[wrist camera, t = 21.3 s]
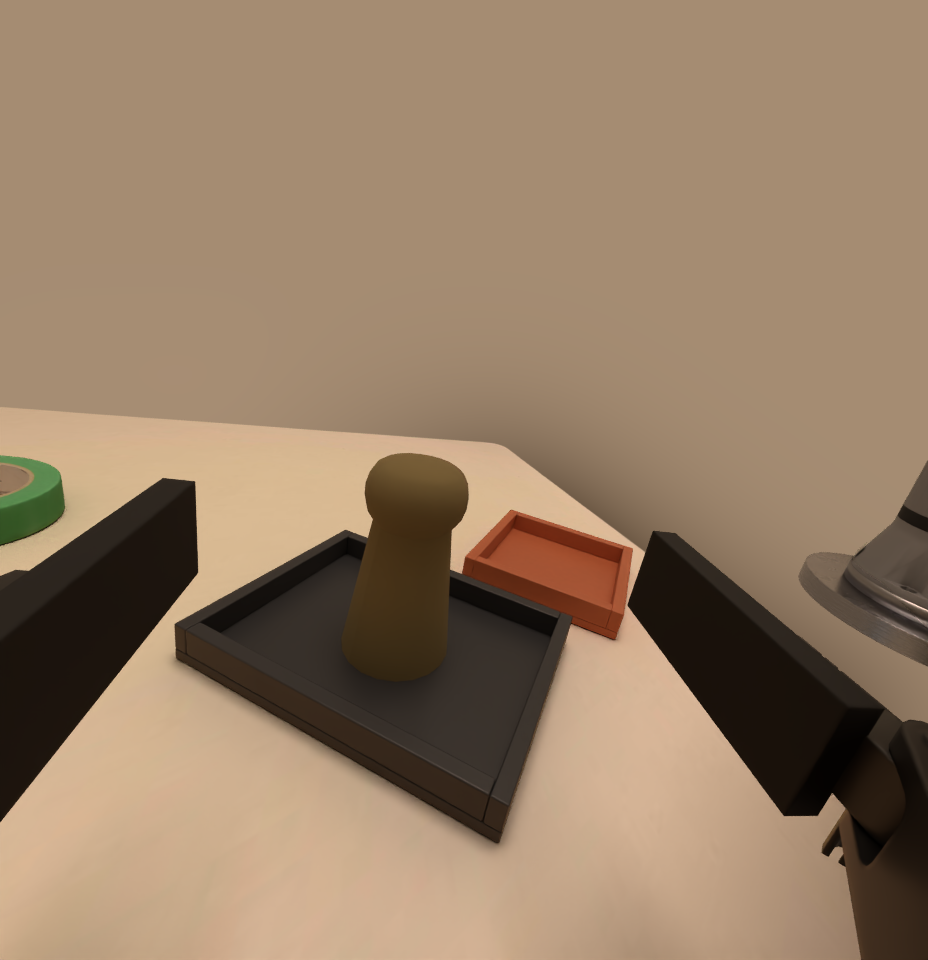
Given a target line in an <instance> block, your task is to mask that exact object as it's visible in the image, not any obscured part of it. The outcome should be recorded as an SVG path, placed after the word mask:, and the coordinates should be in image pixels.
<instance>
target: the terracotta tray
mask: <svg viewBox="0 0 928 960" xmlns="http://www.w3.org/2000/svg"><path fill="white" fill-rule="evenodd" d="M632 552H633V549H632V548H630V547H626V546H623V545H620V544H617V543H614V542H611V541H607V540H604V539H601V538H598V537H595V536H592V535H589V534H586V533H582V532H579V531H576V530H573V529H570V528H567V527H564V526H561V525H557V524H554V523H551V522H548V521H545V520H542V519H539V518H536V517H532V516H529V515H526V514H523V513H520V512H517V511H514V510H510V511H509V512H508V513H507V514H506V515H505V516H504V517H503V518H502V519H501V521H500V522H499V523H498V524H497V525H496V526H495V527H494V528H493V529H492V530H491V531H490V532H489V533H488V534H487V535H486V536H485V537H484V538H483V539H482V540H481V541H480V542H479V543H478V544H477V545H476V546H475V547H474V548H473V549H472V550H471V551H470V552H469V553H468V554H467V556H466V557H465V561H464V566H463V571H462V574H463V575H465V576H468V577H471V578H473V579H476V580H478V581H481V582H484V583H486V584H489V585H491V586H494V587H497V588H499V589H502V590H504V591H507V592H510V593H512V594H515V595H518V596H520V597H523V598H525V599H528V600H531V601H533V602H536V603H538V604H541V605H544V606H546V607H549V608H551V609H554V610H557V611H559V612H560V613H564V614H567V615H570V616H572V617H573V619H572V622H571V623H573V624H575V625H578V626H580V627H583V628H585V629H588V630H591V631H593V632H596V633H598V634H601V635H604V636H606V637H609V638H611V639H614V640H615V639H616V636H617V632H618V630H619V627H620V624H621V621H622V619H623V616H624V609H625V602H626V595H627V588H628V580H629V573H630V566H631V559H632Z"/></svg>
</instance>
